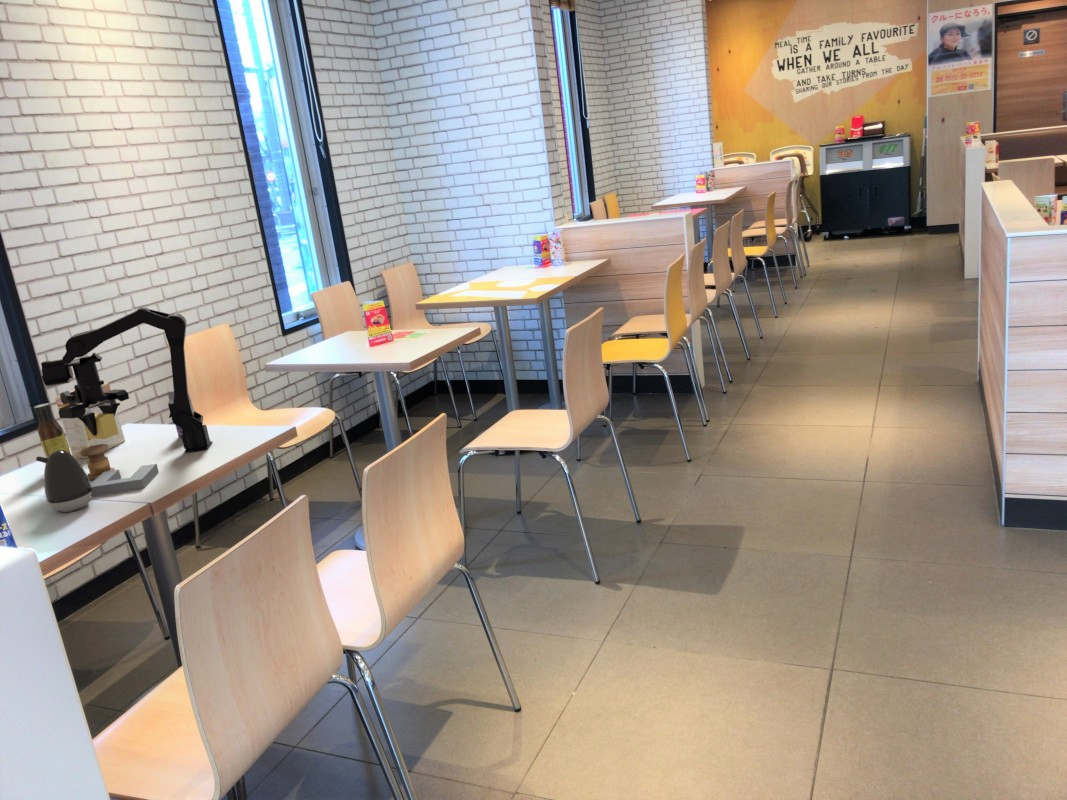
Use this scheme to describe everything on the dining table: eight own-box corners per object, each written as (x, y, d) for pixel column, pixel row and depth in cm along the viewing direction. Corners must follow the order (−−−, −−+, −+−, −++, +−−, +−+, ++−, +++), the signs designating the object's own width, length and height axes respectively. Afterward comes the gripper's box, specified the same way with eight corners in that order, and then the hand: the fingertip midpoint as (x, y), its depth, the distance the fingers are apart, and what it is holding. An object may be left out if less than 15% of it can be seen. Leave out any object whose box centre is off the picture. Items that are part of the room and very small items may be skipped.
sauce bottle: (80, 466, 244) (61, 401, 238) (62, 474, 238) (42, 408, 233) (63, 466, 246) (44, 401, 240) (45, 474, 240) (25, 408, 235)
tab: (118, 433, 238) (113, 413, 236) (105, 439, 234) (99, 418, 232) (101, 433, 241) (95, 413, 239) (88, 438, 237) (82, 418, 235)
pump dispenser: (61, 503, 214) (44, 447, 210) (103, 497, 215) (86, 441, 211) (42, 519, 205) (24, 460, 200) (85, 513, 205) (68, 454, 201)
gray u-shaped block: (158, 472, 229) (156, 463, 228) (144, 488, 217) (141, 479, 217) (106, 480, 228) (103, 471, 227) (88, 496, 216) (86, 487, 216)
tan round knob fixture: (119, 469, 236) (111, 442, 234) (110, 478, 229) (102, 450, 227) (93, 473, 236) (86, 446, 233) (83, 482, 229) (75, 454, 227)
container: (197, 434, 261) (185, 388, 257) (182, 439, 258) (170, 392, 254) (190, 432, 265) (178, 386, 261) (176, 437, 261) (164, 390, 257)
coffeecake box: (108, 441, 266) (91, 382, 261) (126, 441, 264) (110, 381, 259) (71, 459, 253) (53, 397, 247) (90, 458, 251) (72, 395, 245)
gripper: (96, 370, 244) (109, 421, 249) (37, 389, 228) (53, 443, 232) (123, 370, 240) (136, 422, 244) (65, 389, 223) (81, 444, 228)
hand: (102, 432), depth 237 cm, fingers closed on tab, 4 cm apart
